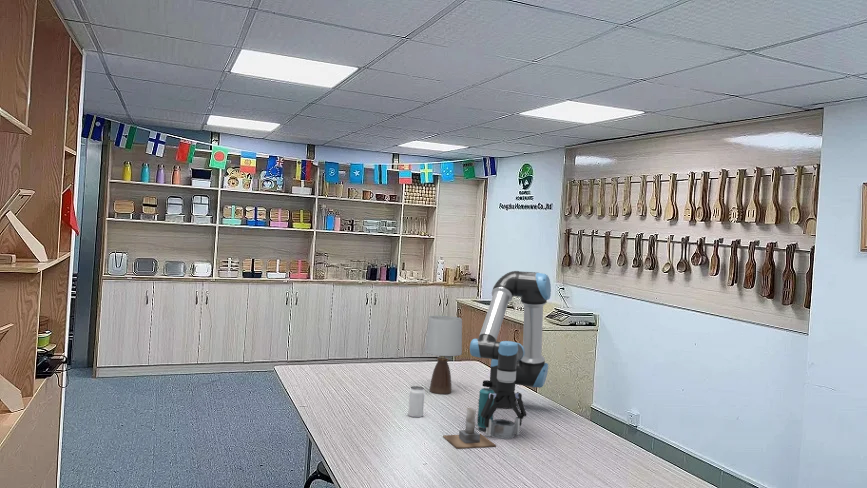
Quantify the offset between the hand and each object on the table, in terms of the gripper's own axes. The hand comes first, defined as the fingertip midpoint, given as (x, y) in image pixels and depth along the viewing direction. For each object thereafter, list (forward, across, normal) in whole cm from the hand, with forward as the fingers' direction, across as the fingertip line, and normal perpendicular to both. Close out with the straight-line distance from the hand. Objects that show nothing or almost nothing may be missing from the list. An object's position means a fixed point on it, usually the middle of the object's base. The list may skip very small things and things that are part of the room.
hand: (502, 434), depth 261 cm
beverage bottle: (0, +4, -8) cm, 9 cm away
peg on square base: (0, +17, +6) cm, 18 cm away
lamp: (0, -1, -70) cm, 70 cm away
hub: (0, 0, 0) cm, 0 cm away
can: (0, +26, -31) cm, 40 cm away
